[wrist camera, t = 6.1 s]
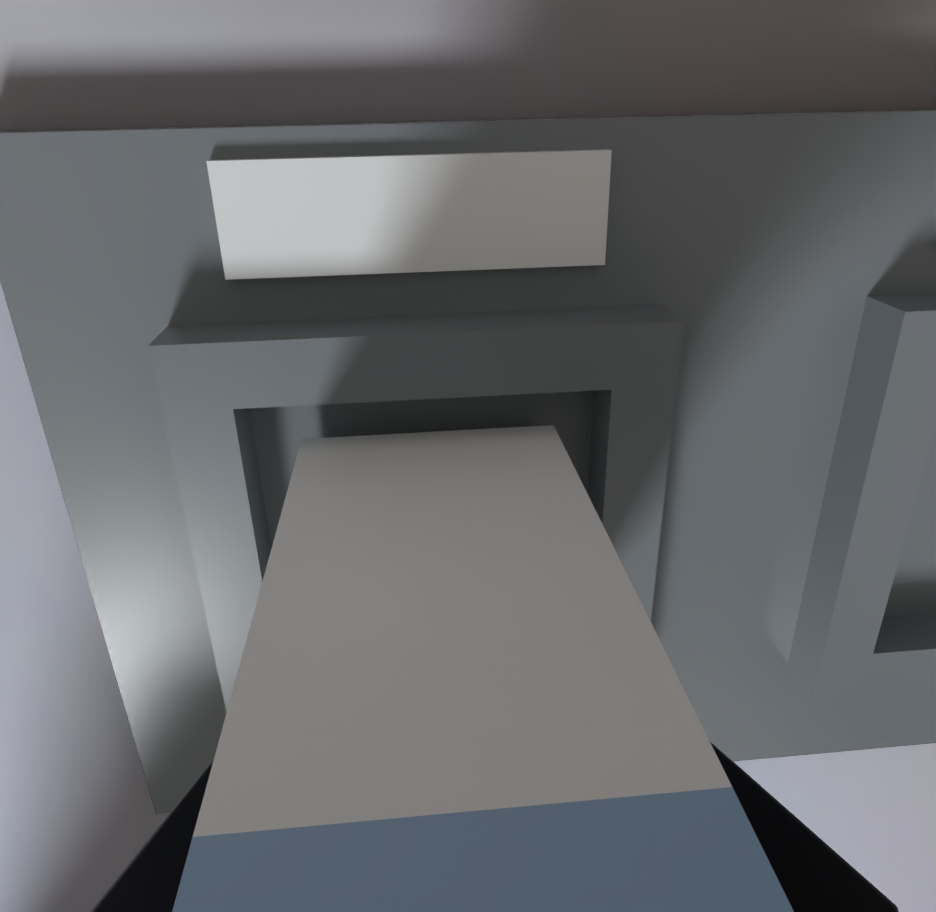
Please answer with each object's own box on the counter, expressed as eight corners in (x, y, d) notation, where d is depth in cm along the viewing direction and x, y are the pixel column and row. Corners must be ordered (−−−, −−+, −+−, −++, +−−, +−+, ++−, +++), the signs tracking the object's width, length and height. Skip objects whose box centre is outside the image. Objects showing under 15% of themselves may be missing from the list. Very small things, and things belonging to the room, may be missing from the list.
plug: (553, 425, 12) (1427, 2192, 2) (546, 625, 14) (977, 2094, 4) (301, 439, 12) (-293, 2613, 2) (328, 641, 13) (124, 2296, 3)
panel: (1440, 97, 12) (1600, 96, 11) (1144, 696, 18) (1219, 755, 16) (-13, 131, 11) (-87, 137, 9) (166, 782, 16) (141, 857, 15)
